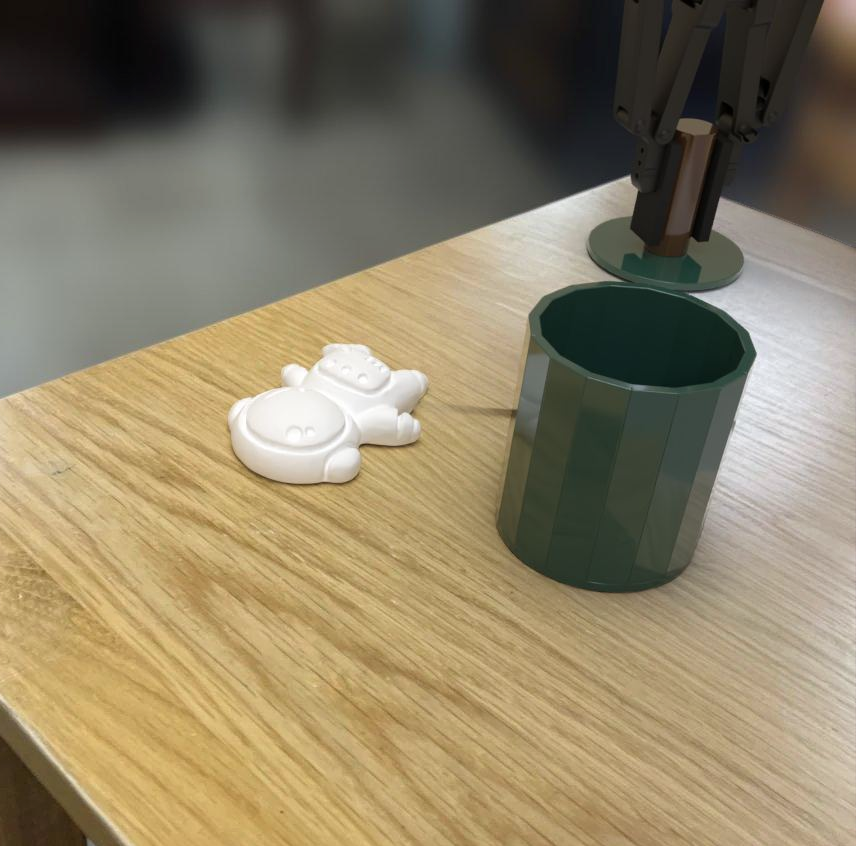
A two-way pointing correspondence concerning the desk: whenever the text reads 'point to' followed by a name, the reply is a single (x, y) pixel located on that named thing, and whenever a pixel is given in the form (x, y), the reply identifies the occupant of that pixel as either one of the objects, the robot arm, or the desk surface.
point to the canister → (619, 432)
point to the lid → (673, 230)
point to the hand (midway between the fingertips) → (669, 234)
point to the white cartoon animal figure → (326, 417)
